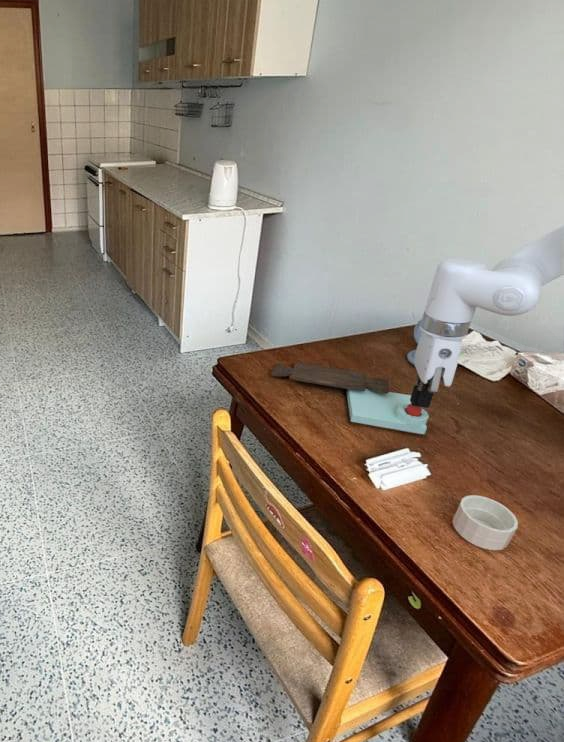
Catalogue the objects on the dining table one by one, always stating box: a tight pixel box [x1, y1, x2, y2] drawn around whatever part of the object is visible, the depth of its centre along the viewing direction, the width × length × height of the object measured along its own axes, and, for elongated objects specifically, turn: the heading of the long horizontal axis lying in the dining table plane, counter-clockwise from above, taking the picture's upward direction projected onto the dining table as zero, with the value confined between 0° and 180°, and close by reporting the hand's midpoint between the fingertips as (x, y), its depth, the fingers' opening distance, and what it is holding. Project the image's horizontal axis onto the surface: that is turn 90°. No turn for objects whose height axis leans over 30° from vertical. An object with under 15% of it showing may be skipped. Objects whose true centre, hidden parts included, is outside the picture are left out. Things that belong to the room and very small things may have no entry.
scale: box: [346, 387, 430, 435], centre depth 104 cm, size 14×12×4 cm
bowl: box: [451, 494, 519, 551], centre depth 75 cm, size 7×7×5 cm
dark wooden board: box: [270, 362, 390, 394], centre depth 114 cm, size 26×2×10 cm
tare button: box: [406, 404, 423, 417], centre depth 99 cm, size 3×3×2 cm
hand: (419, 404), depth 97 cm, fingers closed
